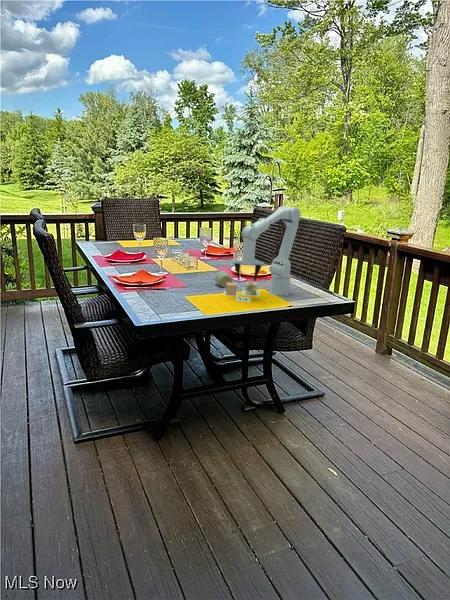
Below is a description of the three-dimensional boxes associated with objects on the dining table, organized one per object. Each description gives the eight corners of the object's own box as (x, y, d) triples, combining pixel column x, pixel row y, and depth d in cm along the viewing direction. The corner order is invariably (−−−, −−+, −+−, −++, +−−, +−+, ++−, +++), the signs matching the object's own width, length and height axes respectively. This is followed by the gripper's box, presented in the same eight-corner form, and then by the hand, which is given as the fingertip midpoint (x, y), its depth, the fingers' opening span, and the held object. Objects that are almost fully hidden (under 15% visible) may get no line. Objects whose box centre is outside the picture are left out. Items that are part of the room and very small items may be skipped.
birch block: (255, 292, 222) (256, 282, 221) (255, 295, 217) (256, 285, 216) (245, 291, 222) (246, 282, 221) (245, 294, 217) (246, 284, 216)
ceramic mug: (219, 288, 226) (220, 274, 223) (214, 284, 233) (215, 270, 231) (238, 288, 229) (239, 274, 227) (232, 284, 237) (234, 270, 234)
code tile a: (250, 298, 213) (250, 297, 213) (250, 302, 206) (250, 301, 206) (235, 297, 213) (236, 296, 213) (236, 301, 206) (236, 300, 206)
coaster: (259, 292, 224) (259, 291, 224) (260, 297, 216) (260, 296, 216) (241, 290, 224) (241, 290, 224) (241, 295, 216) (242, 295, 216)
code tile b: (237, 292, 221) (237, 292, 220) (237, 296, 214) (238, 296, 214) (224, 291, 221) (224, 291, 220) (223, 295, 214) (223, 295, 214)
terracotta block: (235, 292, 219) (236, 283, 218) (236, 295, 215) (236, 285, 213) (226, 291, 219) (226, 282, 218) (225, 294, 215) (226, 284, 213)
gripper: (233, 252, 201) (231, 281, 205) (264, 254, 201) (262, 283, 205) (233, 249, 208) (231, 277, 212) (263, 251, 208) (261, 279, 212)
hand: (246, 280), depth 209 cm, fingers open, 7 cm apart
